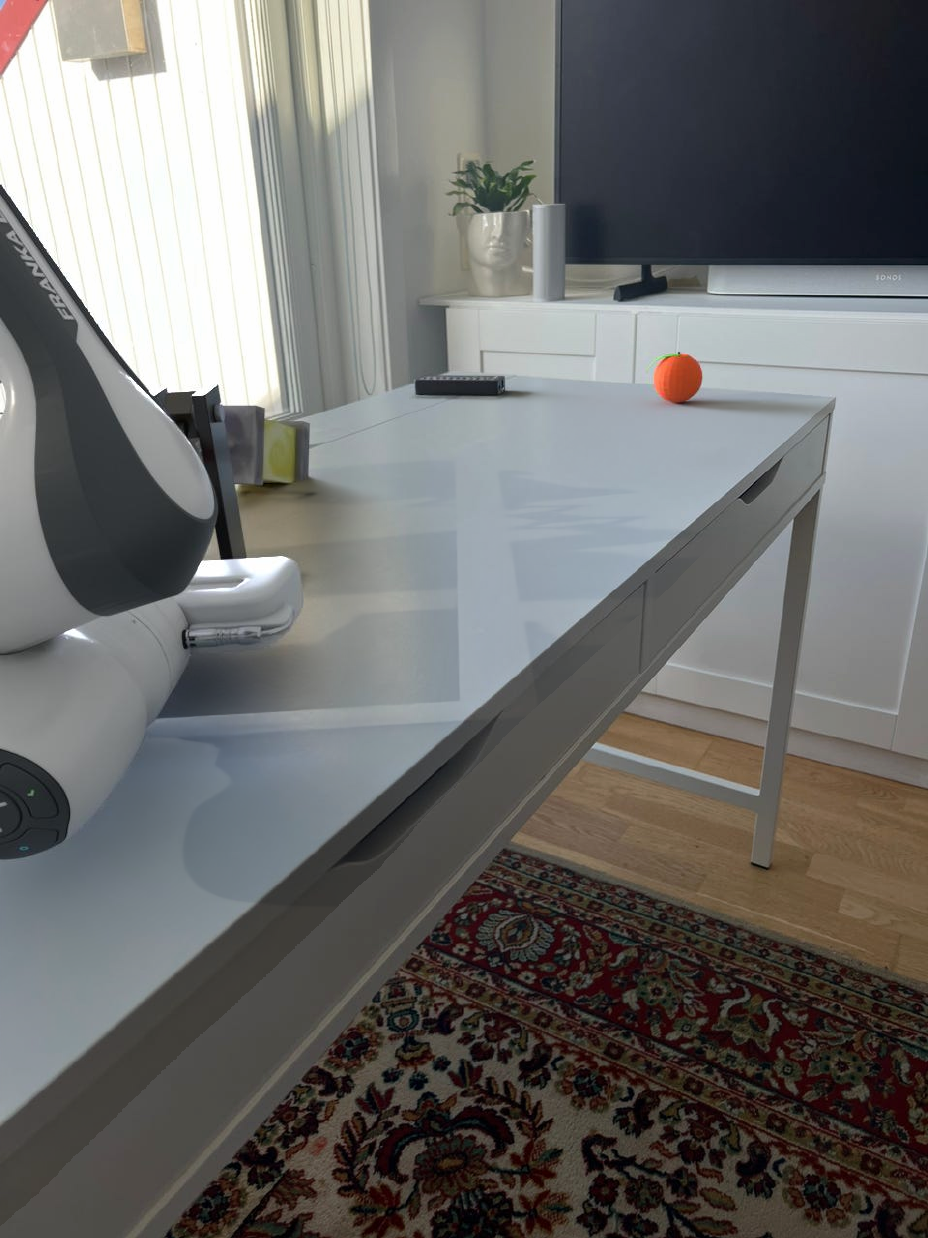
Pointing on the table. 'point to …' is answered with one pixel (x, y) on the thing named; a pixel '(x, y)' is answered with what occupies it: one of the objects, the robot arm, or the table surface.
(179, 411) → the switch lever
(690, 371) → the clementine
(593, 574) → the table surface
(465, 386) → the multiport hub
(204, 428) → the switch bracket
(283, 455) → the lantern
